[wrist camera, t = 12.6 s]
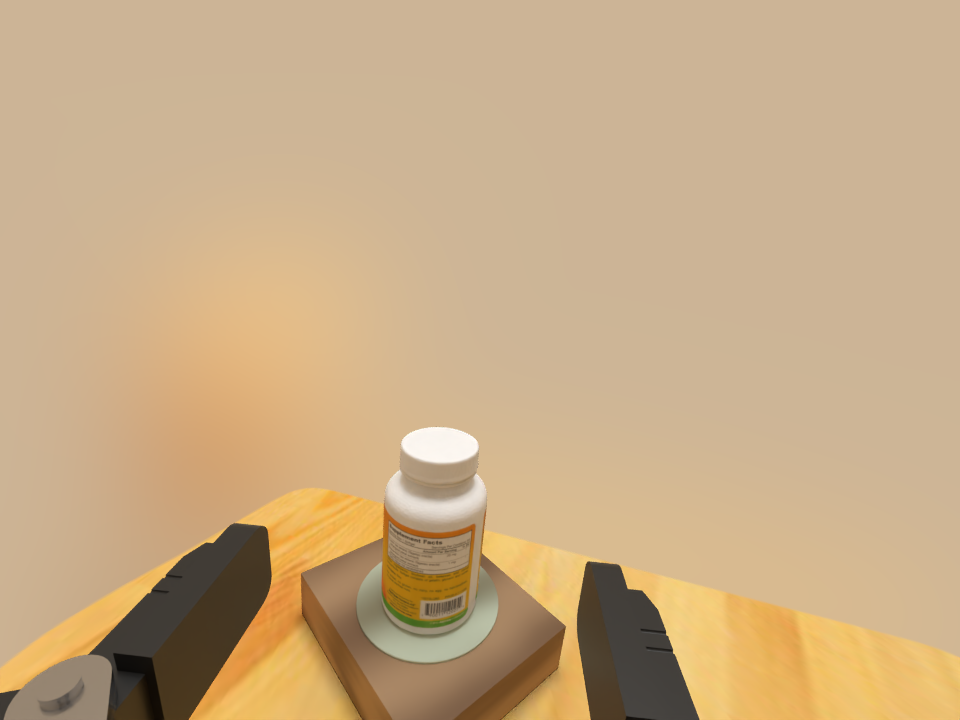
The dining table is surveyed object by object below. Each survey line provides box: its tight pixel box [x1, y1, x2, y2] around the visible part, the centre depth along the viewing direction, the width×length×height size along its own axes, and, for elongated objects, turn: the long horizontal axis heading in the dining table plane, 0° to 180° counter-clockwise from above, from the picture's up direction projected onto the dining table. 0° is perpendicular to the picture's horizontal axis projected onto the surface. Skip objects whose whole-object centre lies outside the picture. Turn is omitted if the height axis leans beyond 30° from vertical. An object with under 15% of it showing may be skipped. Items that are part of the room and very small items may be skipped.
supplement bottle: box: [382, 427, 487, 634], centre depth 24 cm, size 5×5×10 cm
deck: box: [301, 538, 566, 720], centre depth 26 cm, size 12×10×3 cm
